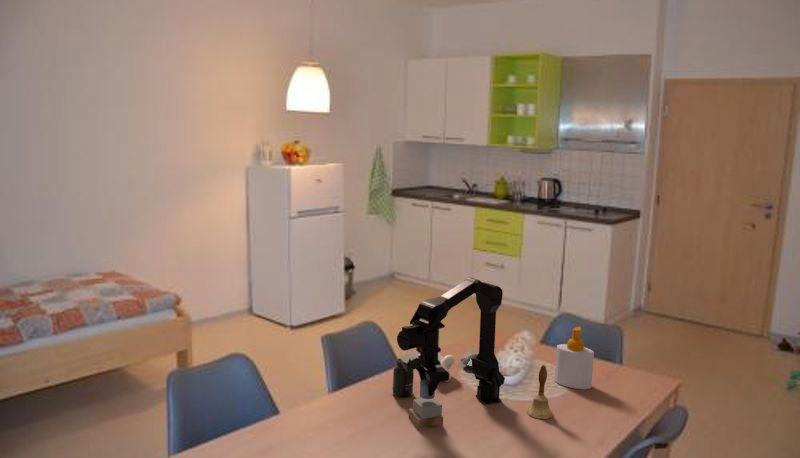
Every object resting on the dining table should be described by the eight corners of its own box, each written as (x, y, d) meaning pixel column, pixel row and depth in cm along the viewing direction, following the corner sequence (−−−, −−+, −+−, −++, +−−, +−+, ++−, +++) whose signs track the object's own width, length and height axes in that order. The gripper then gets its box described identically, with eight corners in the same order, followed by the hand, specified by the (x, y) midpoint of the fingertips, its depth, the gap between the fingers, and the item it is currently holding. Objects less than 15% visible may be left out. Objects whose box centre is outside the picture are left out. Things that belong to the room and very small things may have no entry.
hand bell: (530, 405, 209) (533, 359, 206) (555, 411, 205) (559, 364, 202) (523, 415, 201) (526, 367, 199) (549, 421, 198) (553, 373, 195)
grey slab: (431, 407, 199) (432, 396, 198) (441, 415, 193) (442, 404, 192) (412, 410, 196) (413, 399, 196) (422, 419, 190) (422, 408, 190)
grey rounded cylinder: (431, 392, 197) (431, 378, 196) (436, 398, 193) (437, 383, 192) (417, 393, 195) (418, 379, 195) (423, 399, 191) (423, 385, 190)
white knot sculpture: (416, 382, 225) (417, 358, 223) (425, 370, 236) (425, 347, 234) (447, 387, 221) (448, 362, 220) (455, 374, 233) (456, 351, 231)
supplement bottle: (410, 399, 211) (411, 364, 209) (390, 397, 212) (391, 362, 210) (414, 391, 218) (415, 357, 215) (395, 388, 219) (395, 355, 217)
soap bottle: (594, 384, 227) (599, 329, 224) (587, 392, 220) (592, 336, 217) (558, 376, 234) (562, 322, 231) (550, 383, 227) (554, 328, 224)
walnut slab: (432, 415, 200) (432, 405, 200) (442, 427, 193) (443, 416, 193) (408, 419, 198) (409, 408, 197) (418, 431, 190) (418, 420, 190)
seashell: (483, 361, 247) (484, 348, 246) (494, 368, 239) (495, 356, 238) (456, 364, 243) (456, 351, 242) (465, 372, 235) (466, 359, 234)
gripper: (393, 335, 197) (392, 383, 200) (415, 357, 180) (413, 409, 182) (426, 332, 201) (425, 379, 203) (451, 353, 184) (449, 404, 186)
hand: (427, 392), depth 194 cm, fingers closed on grey rounded cylinder, 4 cm apart
